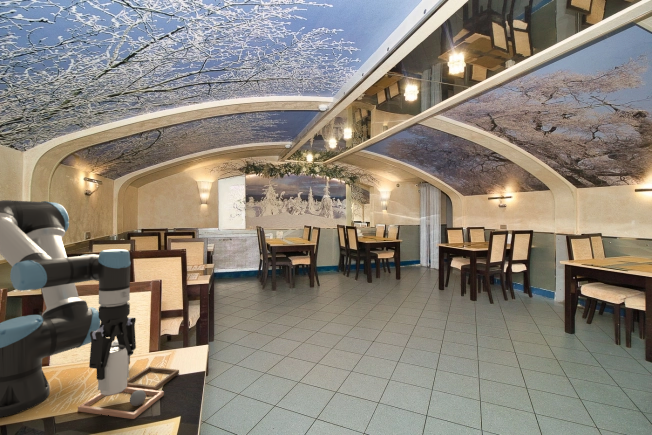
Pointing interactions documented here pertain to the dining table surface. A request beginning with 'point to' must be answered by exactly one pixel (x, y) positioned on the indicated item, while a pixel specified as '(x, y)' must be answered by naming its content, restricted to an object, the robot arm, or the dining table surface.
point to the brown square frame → (153, 369)
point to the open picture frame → (117, 413)
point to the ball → (137, 397)
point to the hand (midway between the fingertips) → (114, 383)
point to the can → (117, 370)
